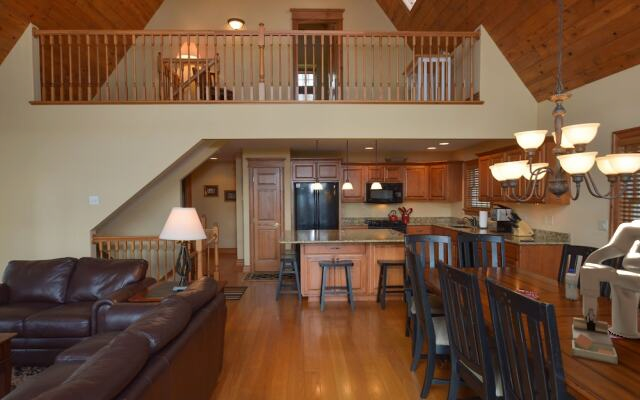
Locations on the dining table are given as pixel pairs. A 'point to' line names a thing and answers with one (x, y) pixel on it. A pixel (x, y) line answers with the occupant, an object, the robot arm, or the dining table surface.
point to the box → (595, 353)
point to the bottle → (571, 285)
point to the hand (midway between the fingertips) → (590, 327)
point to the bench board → (593, 337)
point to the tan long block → (582, 325)
